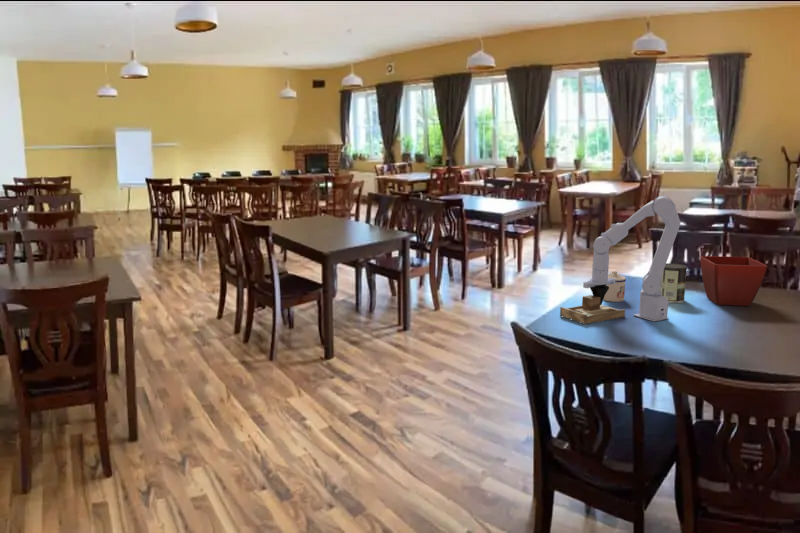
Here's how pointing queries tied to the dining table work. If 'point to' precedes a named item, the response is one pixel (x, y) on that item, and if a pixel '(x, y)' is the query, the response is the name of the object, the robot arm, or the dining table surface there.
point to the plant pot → (731, 279)
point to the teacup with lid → (615, 288)
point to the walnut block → (591, 302)
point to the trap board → (591, 314)
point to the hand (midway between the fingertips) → (598, 304)
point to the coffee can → (673, 282)
